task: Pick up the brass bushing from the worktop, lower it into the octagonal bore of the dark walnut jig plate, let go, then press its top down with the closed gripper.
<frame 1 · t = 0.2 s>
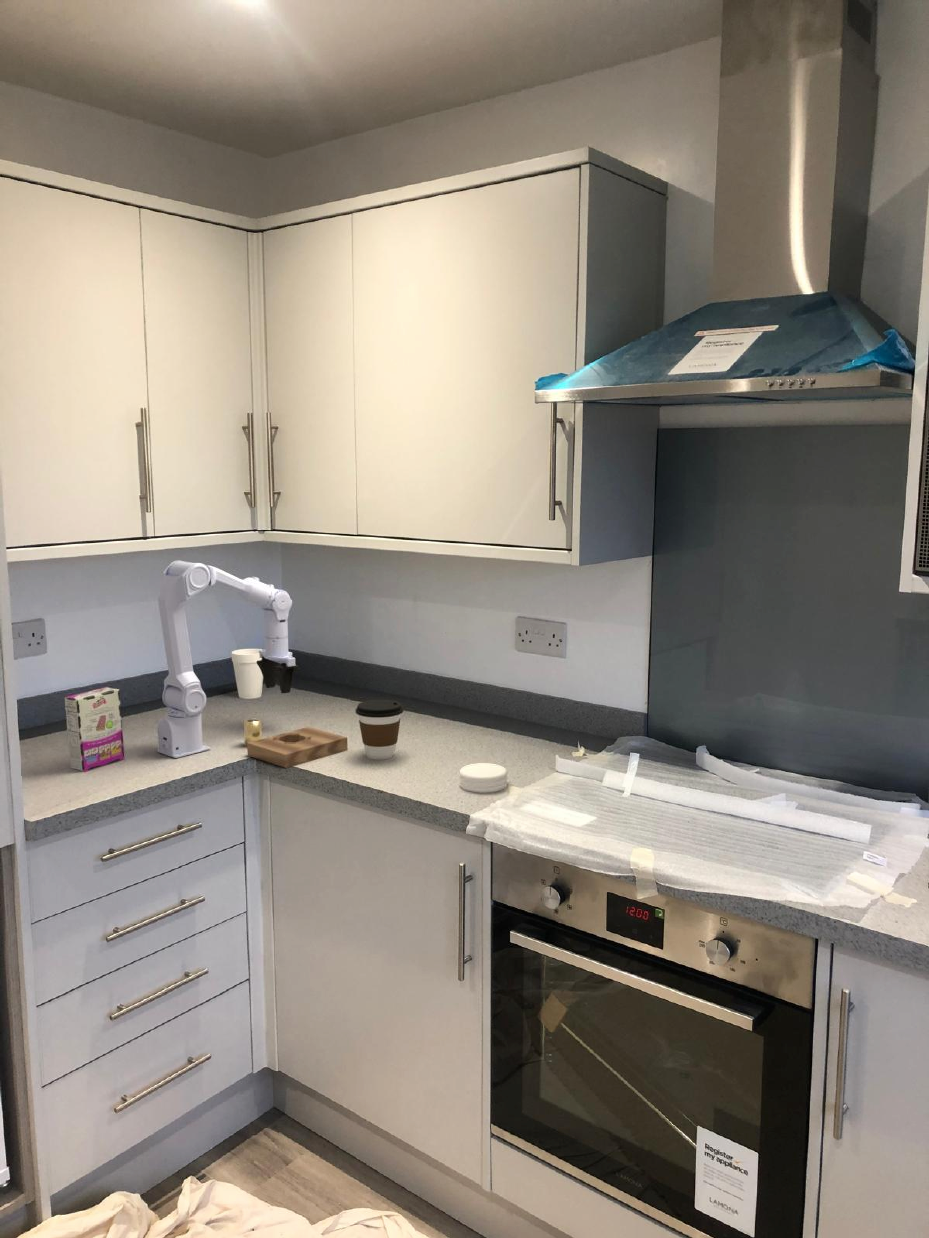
hand: (277, 690, 244), 10 cm above the worktop, fingers open, 7 cm apart
jig: (298, 752, 225), on the worktop
coffee cup: (380, 756, 222), on the worktop
candy bar box: (97, 764, 217), on the worktop
foam cup: (250, 696, 279), on the worktop
bushing: (253, 744, 231), on the worktop
white round disc: (483, 786, 202), on the worktop
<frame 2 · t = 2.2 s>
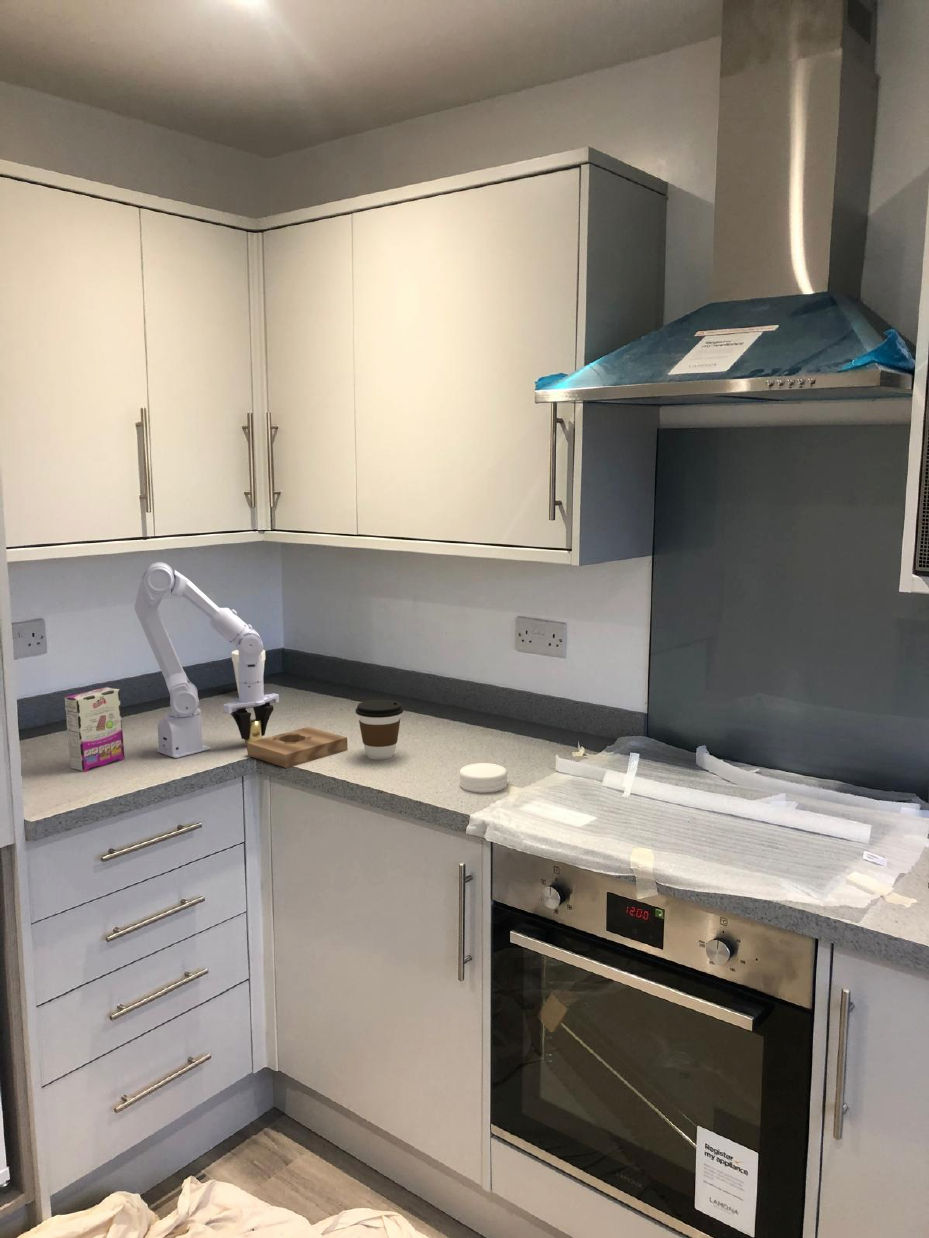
hand: (253, 736, 231), 2 cm above the worktop, fingers closed on bushing, 4 cm apart
bushing: (253, 744, 231), on the worktop, touching gripper
everything else where it was.
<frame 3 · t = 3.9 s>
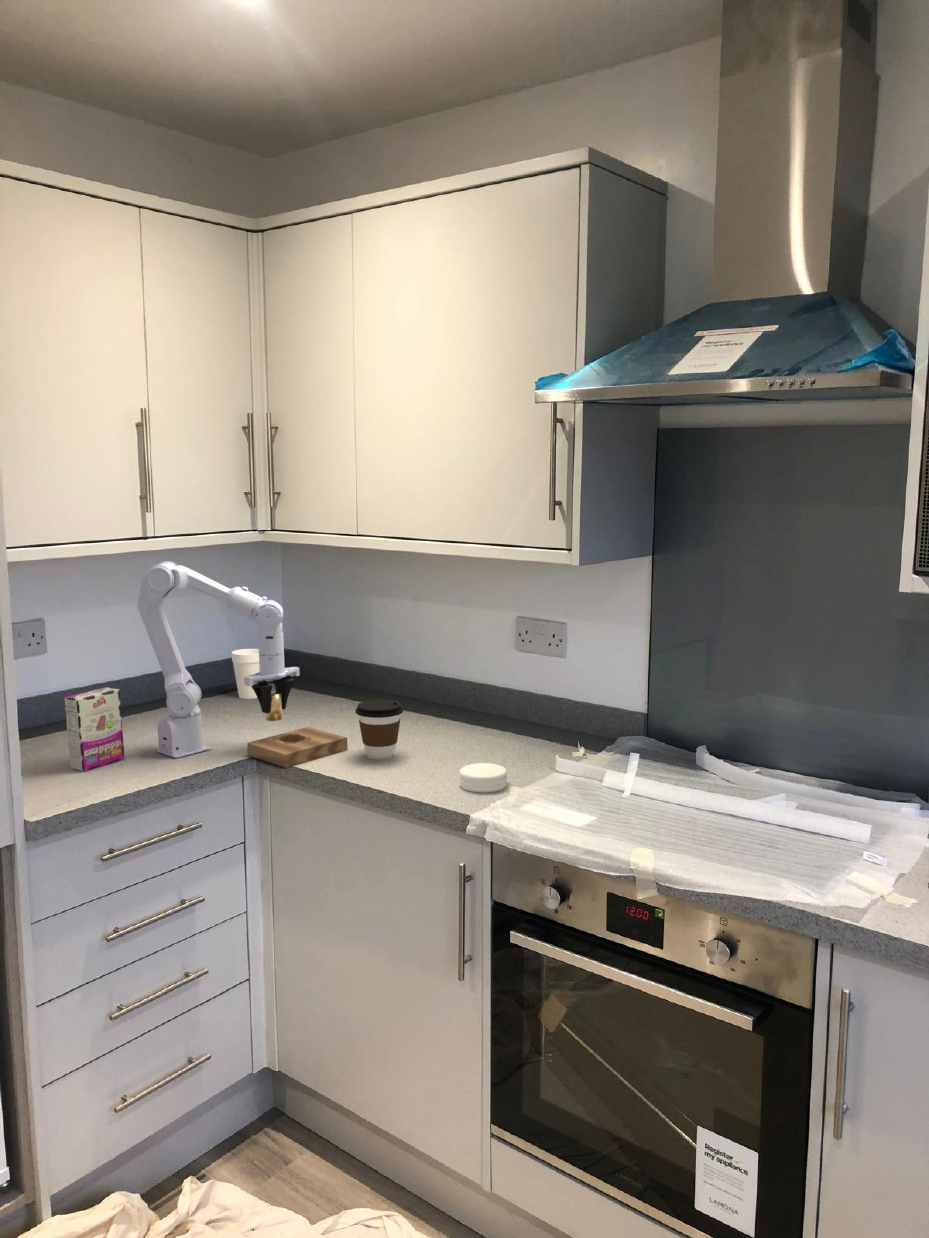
hand: (273, 710, 227), 9 cm above the worktop, fingers closed on bushing, 4 cm apart
bushing: (273, 718, 227), point 7 cm above the worktop, touching gripper
everything else where it was.
when the fingers open (4 cm above the worktop, at t = 5.9 s): bushing drops 2 cm, resting in jig.
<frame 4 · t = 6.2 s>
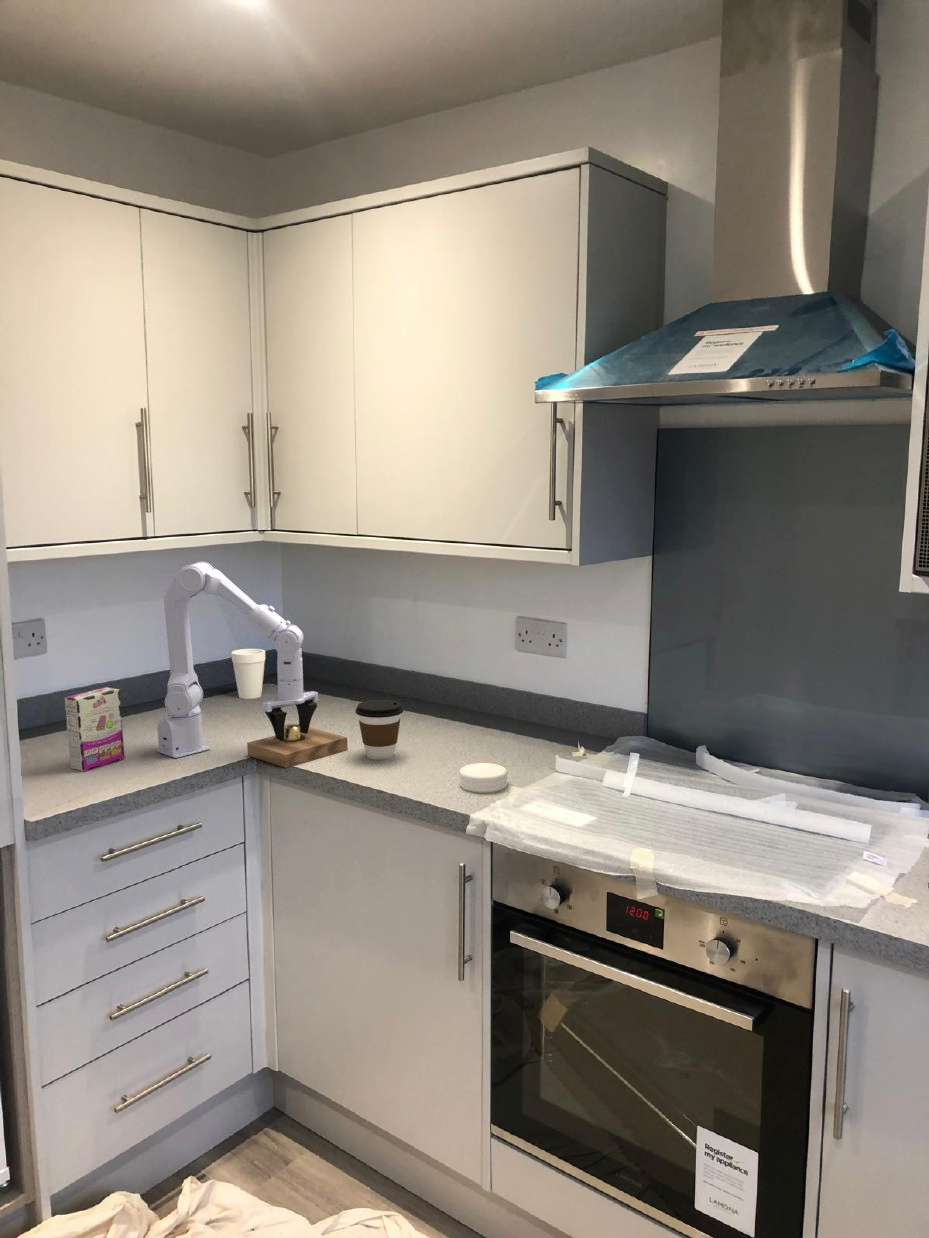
hand: (292, 735, 225), 4 cm above the worktop, fingers open, 6 cm apart
bushing: (292, 750, 226), resting in jig
everything else where it was.
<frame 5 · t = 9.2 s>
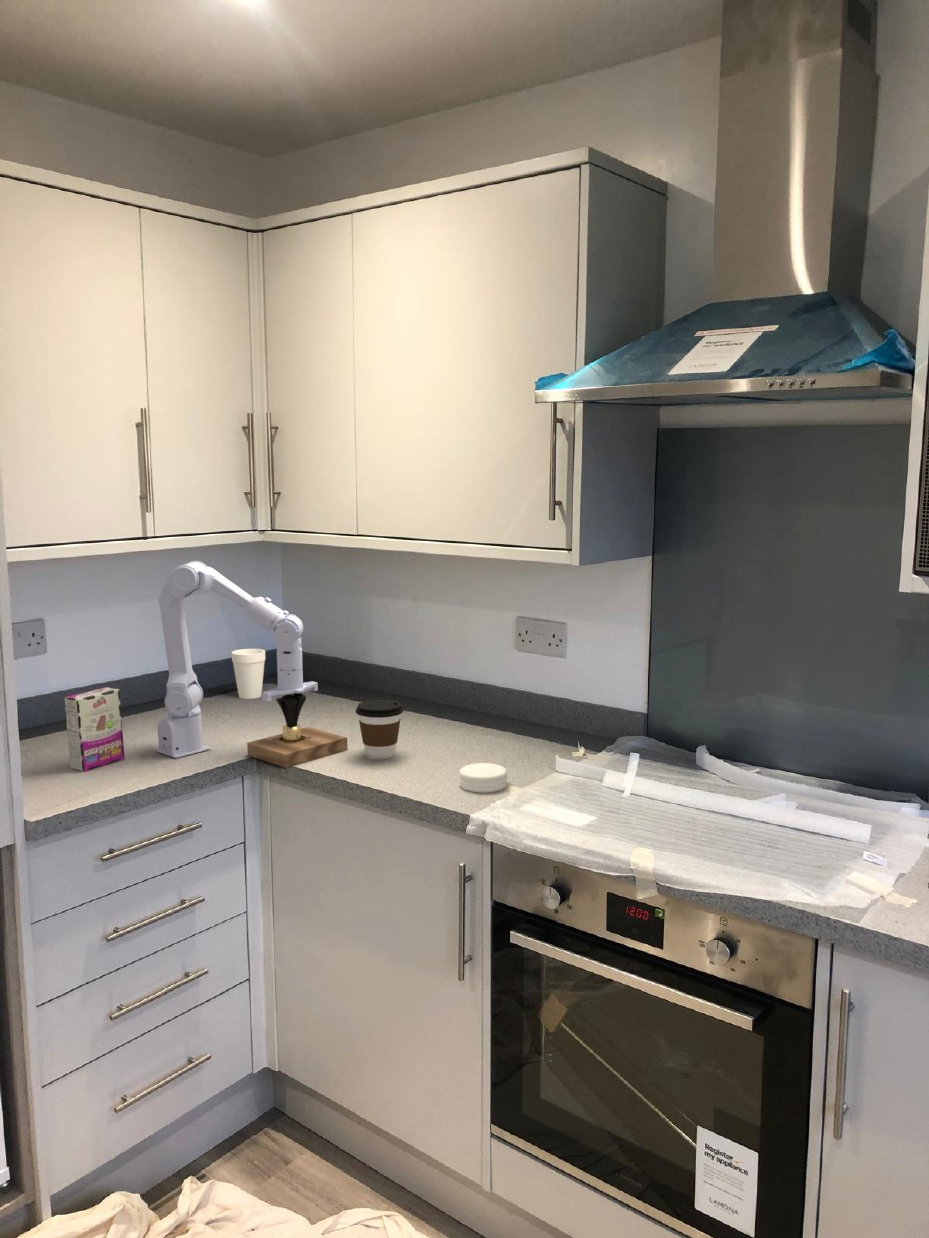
hand: (291, 725, 225), 6 cm above the worktop, fingers closed
nothing on the worktop moved.
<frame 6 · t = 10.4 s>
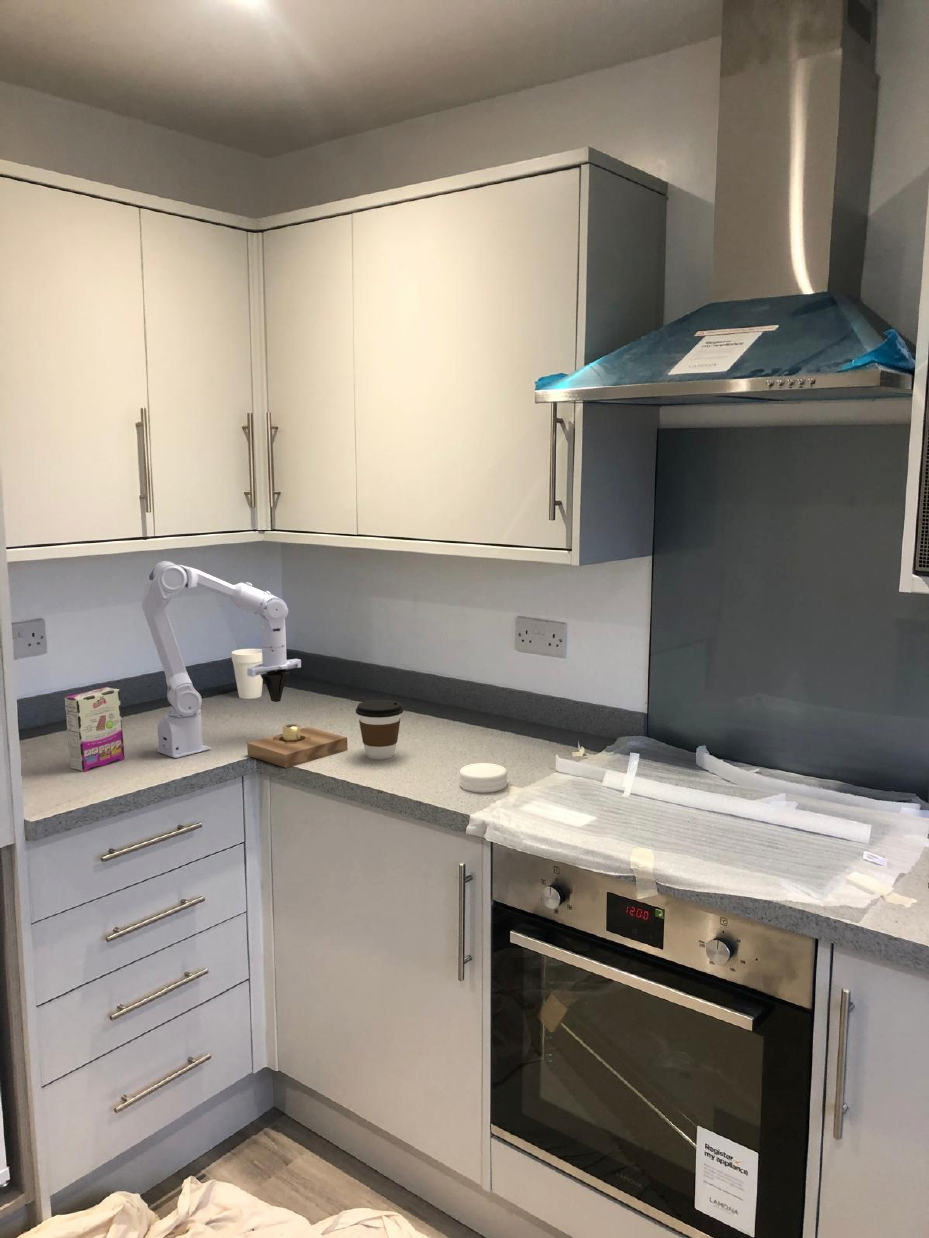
hand: (275, 700, 235), 9 cm above the worktop, fingers closed
nothing on the worktop moved.
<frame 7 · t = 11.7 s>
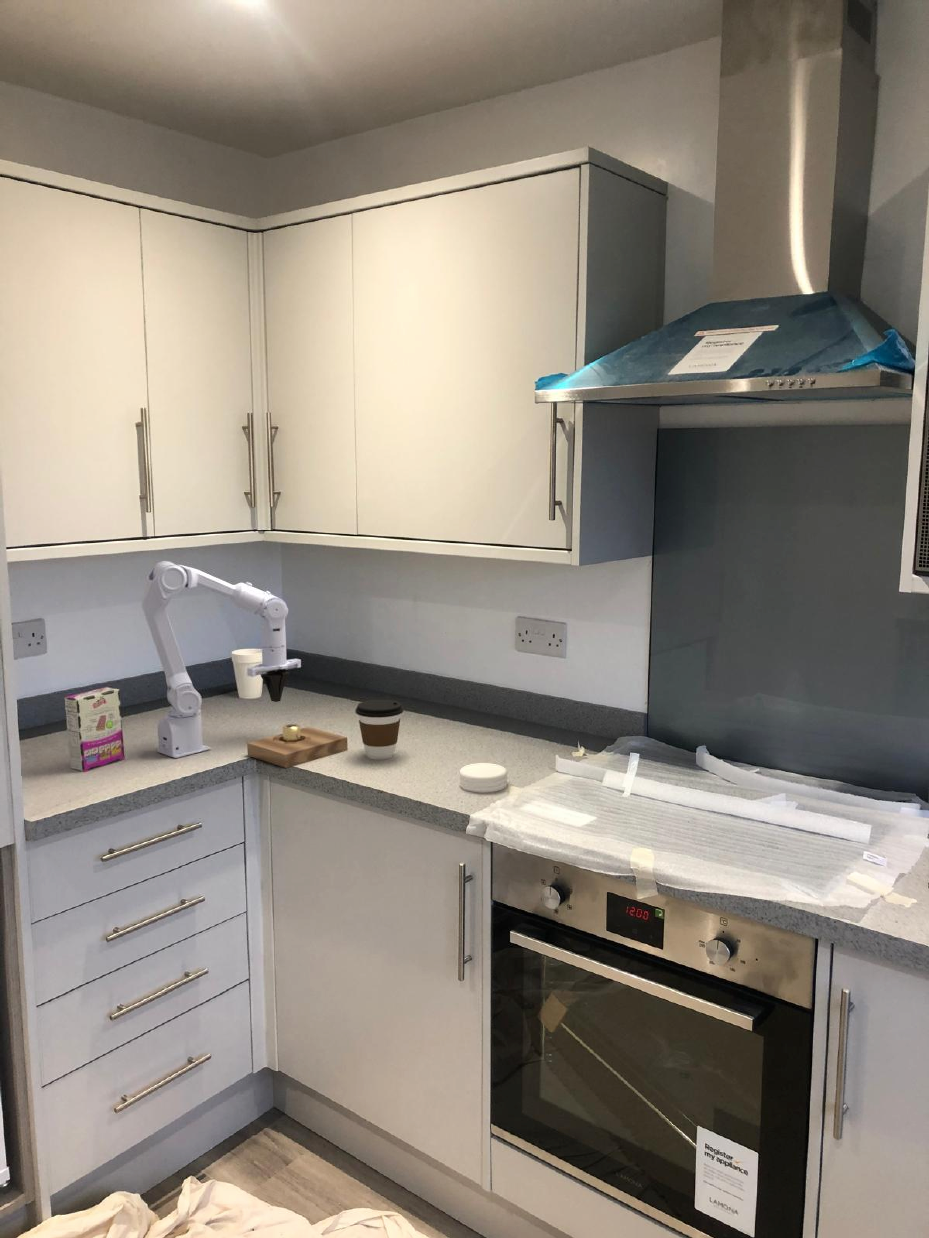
hand: (275, 700, 235), 9 cm above the worktop, fingers closed
nothing on the worktop moved.
at the end: bushing 0.1 cm from the target spot on the jig, point 0.0 cm above the jig's base; bushing tilted 0°; the gripper is holding nothing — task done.
